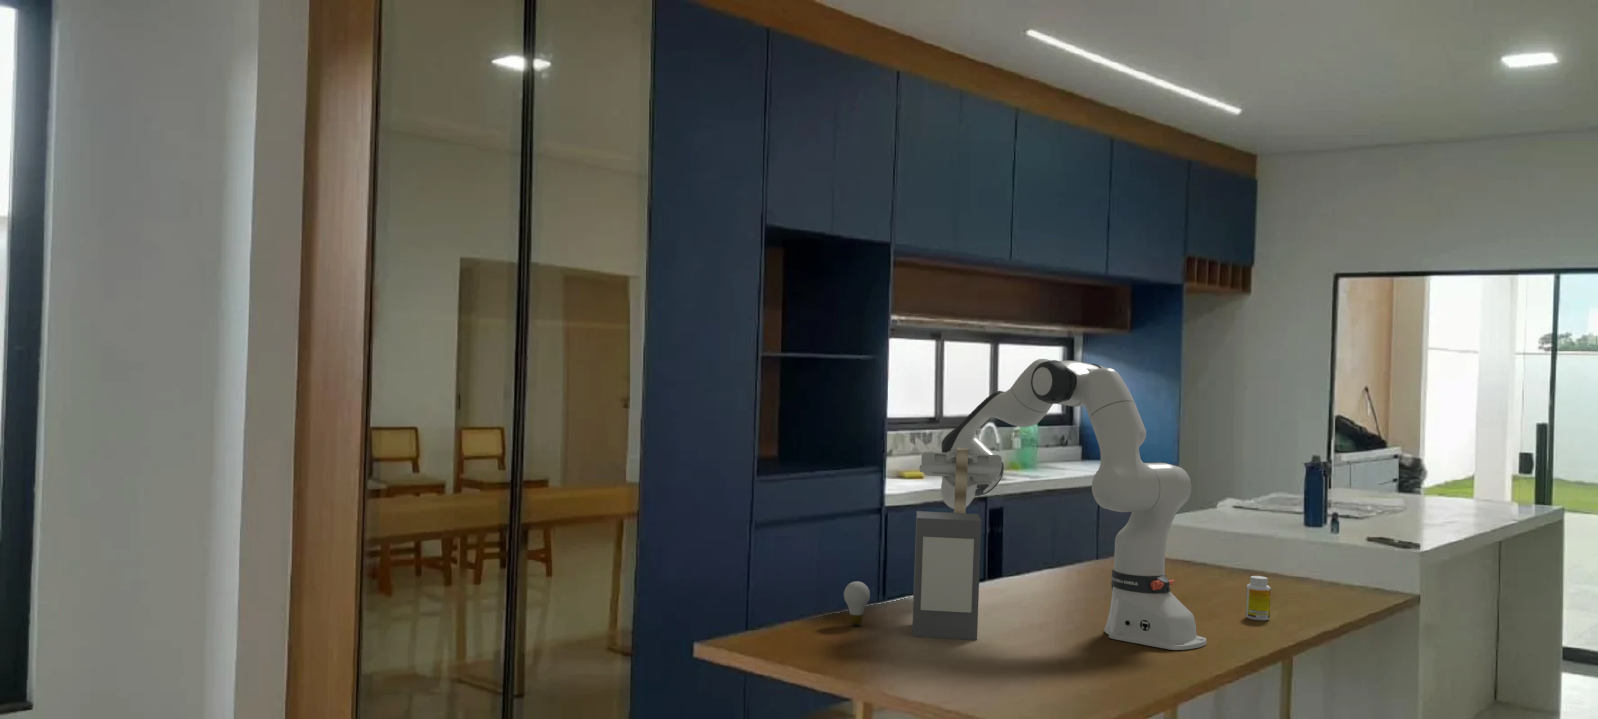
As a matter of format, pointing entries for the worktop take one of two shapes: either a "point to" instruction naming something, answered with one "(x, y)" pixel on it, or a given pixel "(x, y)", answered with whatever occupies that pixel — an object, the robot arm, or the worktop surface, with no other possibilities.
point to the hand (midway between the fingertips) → (962, 451)
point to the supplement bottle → (1258, 599)
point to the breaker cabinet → (946, 575)
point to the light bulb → (856, 600)
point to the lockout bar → (961, 480)
